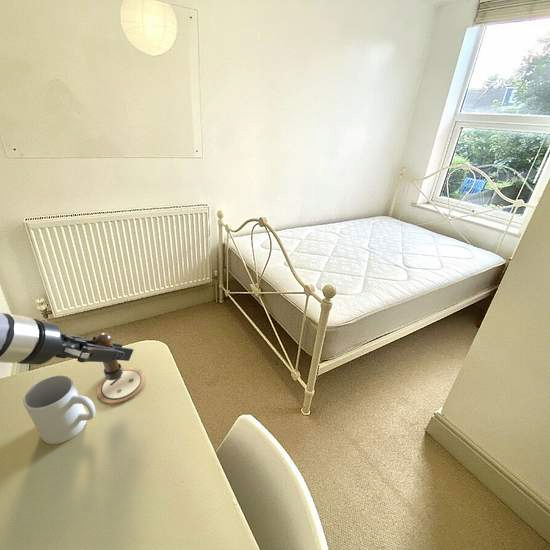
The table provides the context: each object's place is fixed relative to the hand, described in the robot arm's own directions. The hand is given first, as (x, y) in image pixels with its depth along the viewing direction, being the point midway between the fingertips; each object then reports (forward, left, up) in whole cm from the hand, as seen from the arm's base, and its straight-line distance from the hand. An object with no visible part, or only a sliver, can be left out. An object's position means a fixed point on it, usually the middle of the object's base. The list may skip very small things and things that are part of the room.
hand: (124, 352), depth 73 cm
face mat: (-1, -2, -10) cm, 10 cm away
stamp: (0, -4, -4) cm, 5 cm away
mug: (-2, -15, -10) cm, 18 cm away
